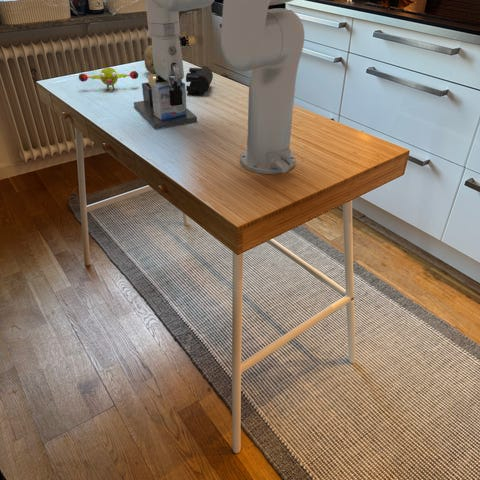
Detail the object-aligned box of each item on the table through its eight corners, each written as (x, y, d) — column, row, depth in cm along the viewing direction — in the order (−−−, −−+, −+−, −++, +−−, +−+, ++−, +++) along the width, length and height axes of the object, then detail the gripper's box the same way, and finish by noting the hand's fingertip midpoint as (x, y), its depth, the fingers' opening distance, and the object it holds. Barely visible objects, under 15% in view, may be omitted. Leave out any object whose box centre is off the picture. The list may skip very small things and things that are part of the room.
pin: (164, 94, 127) (162, 76, 124) (152, 96, 126) (150, 78, 123) (160, 91, 130) (158, 73, 127) (148, 92, 128) (146, 75, 125)
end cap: (209, 97, 138) (208, 75, 134) (186, 96, 138) (185, 74, 134) (213, 87, 146) (212, 65, 142) (191, 86, 146) (190, 64, 142)
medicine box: (160, 120, 118) (157, 87, 113) (153, 115, 121) (150, 82, 116) (187, 115, 122) (185, 82, 117) (179, 110, 125) (177, 78, 120)
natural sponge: (174, 71, 159) (172, 41, 153) (168, 79, 152) (166, 48, 146) (149, 70, 159) (146, 40, 153) (142, 78, 152) (139, 47, 146)
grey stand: (197, 122, 122) (196, 98, 118) (154, 129, 117) (152, 105, 113) (173, 101, 134) (171, 79, 131) (134, 107, 130) (131, 84, 126)
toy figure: (80, 94, 138) (76, 72, 134) (81, 88, 142) (77, 66, 138) (140, 91, 141) (137, 69, 137) (139, 85, 146) (137, 64, 142)
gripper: (192, 35, 104) (195, 107, 114) (166, 21, 116) (171, 88, 126) (161, 38, 101) (167, 112, 111) (138, 23, 113) (145, 91, 123)
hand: (169, 99), depth 119 cm, fingers open, 9 cm apart
